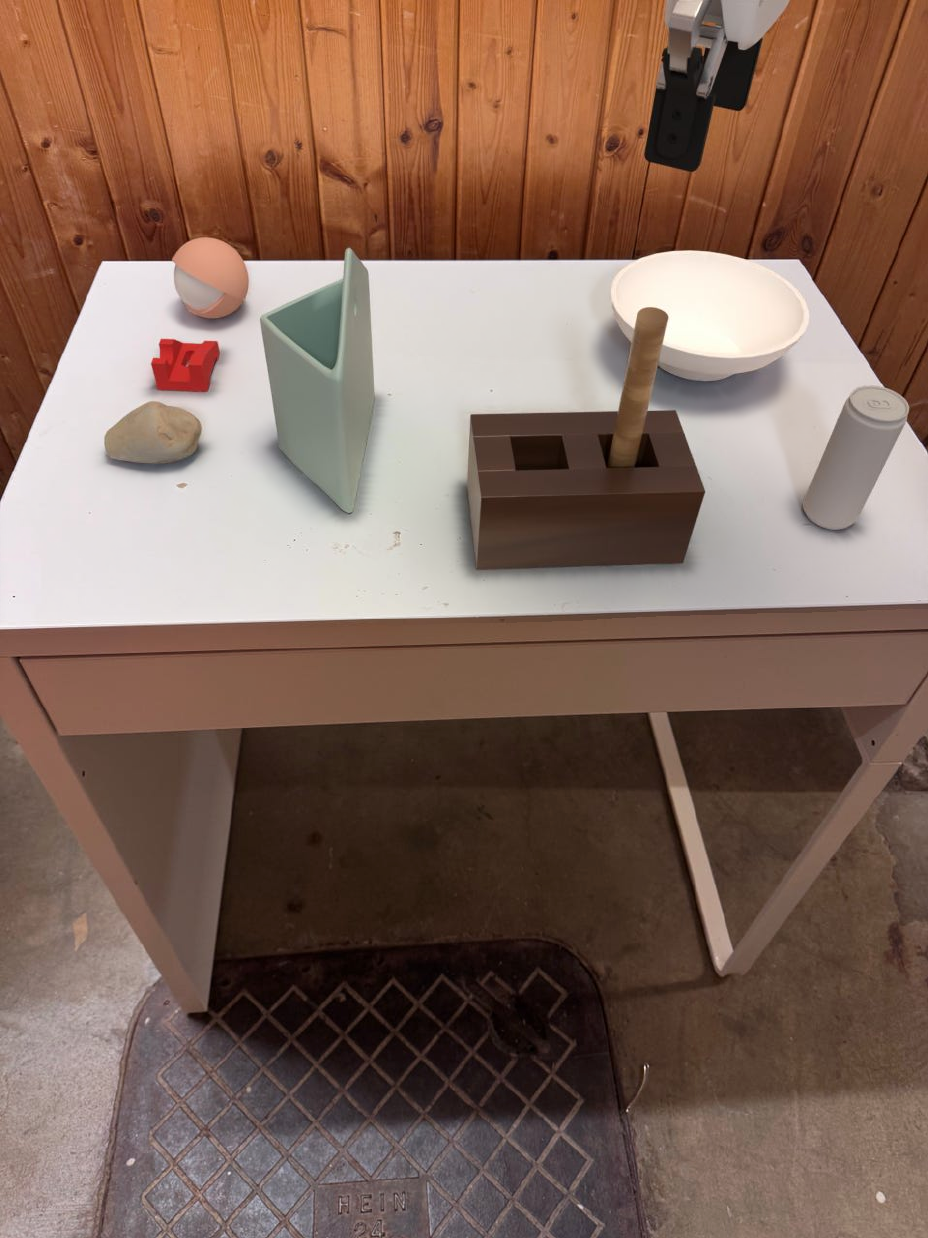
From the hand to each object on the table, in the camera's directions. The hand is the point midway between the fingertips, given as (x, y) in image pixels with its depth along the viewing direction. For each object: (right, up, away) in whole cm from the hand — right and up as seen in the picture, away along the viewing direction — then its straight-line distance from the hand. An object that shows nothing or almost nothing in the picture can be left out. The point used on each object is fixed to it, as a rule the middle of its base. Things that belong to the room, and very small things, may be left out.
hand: (696, 133), depth 56 cm
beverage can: (+18, -20, +26) cm, 38 cm away
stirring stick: (-1, -21, +25) cm, 32 cm away
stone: (-42, -14, +29) cm, 53 cm away
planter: (-27, -14, +30) cm, 42 cm away
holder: (-5, -21, +24) cm, 32 cm away
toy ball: (-41, +4, +44) cm, 60 cm away
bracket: (-41, -5, +37) cm, 56 cm away
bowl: (+10, -2, +41) cm, 42 cm away
